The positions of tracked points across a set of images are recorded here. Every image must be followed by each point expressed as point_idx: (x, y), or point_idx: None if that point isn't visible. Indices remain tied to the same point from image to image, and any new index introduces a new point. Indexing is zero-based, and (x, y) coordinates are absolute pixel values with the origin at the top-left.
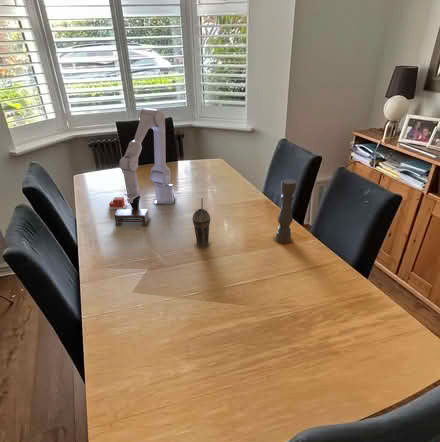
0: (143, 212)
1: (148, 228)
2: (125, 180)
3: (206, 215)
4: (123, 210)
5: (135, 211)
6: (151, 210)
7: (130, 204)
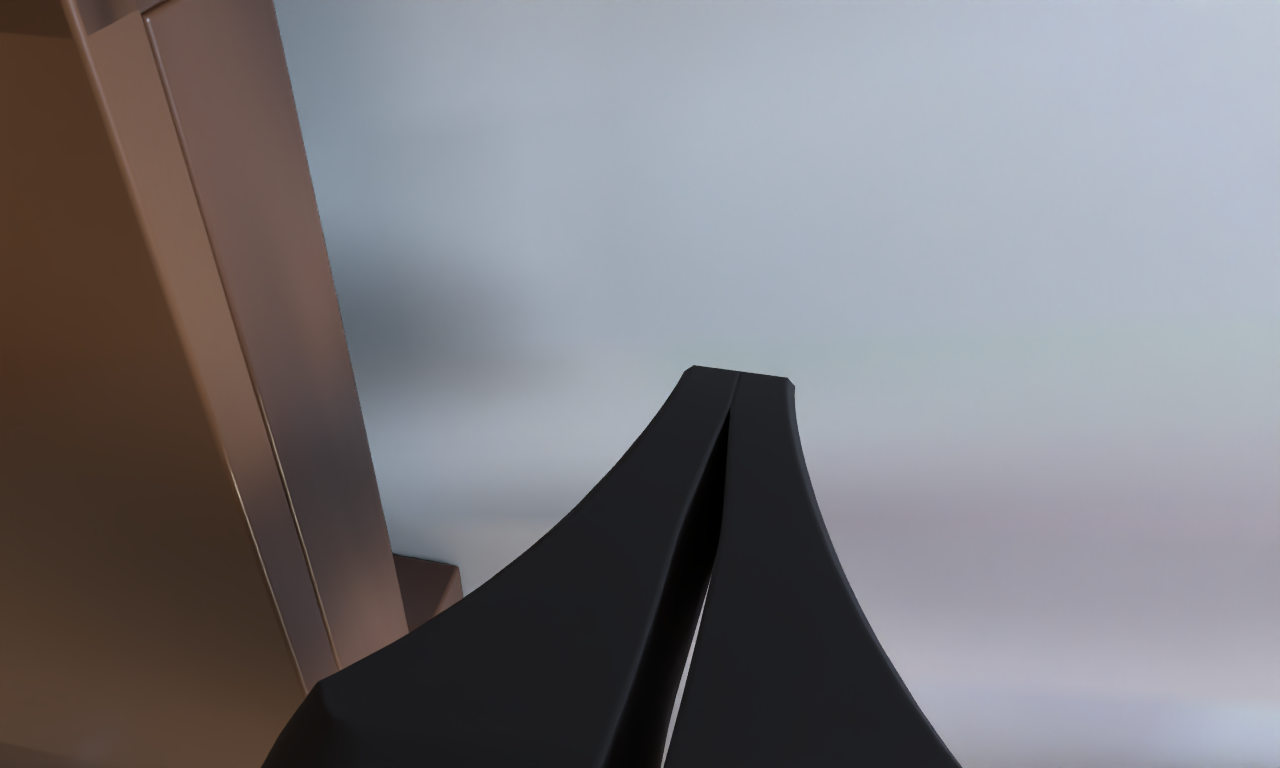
0: (126, 766)
1: None
2: None
3: None
4: (8, 230)
5: (107, 619)
6: (1023, 677)
7: (510, 567)
